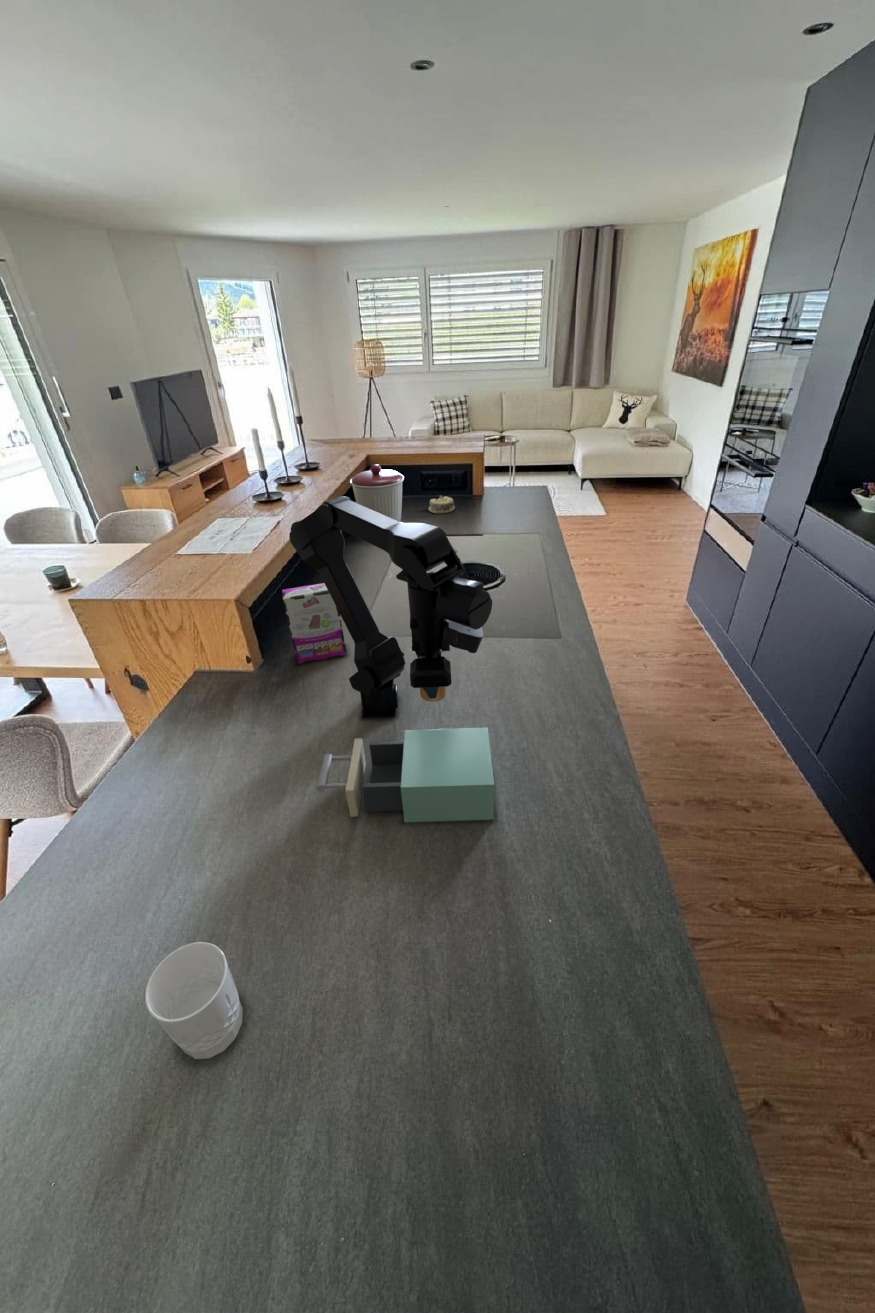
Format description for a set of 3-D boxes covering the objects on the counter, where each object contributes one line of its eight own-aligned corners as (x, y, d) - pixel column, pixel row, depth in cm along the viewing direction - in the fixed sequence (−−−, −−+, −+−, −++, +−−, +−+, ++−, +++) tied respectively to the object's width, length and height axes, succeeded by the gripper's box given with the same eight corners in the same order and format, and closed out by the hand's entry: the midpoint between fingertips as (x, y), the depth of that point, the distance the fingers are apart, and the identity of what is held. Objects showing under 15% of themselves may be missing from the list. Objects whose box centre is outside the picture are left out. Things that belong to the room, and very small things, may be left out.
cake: (460, 511, 205) (460, 496, 202) (437, 517, 201) (437, 502, 197) (445, 502, 211) (445, 488, 208) (423, 508, 207) (422, 494, 204)
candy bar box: (344, 644, 129) (334, 580, 120) (347, 655, 125) (337, 590, 116) (295, 653, 126) (281, 588, 117) (297, 665, 122) (282, 598, 113)
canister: (417, 522, 195) (413, 460, 184) (387, 539, 183) (381, 474, 171) (376, 514, 203) (370, 455, 192) (345, 530, 191) (336, 468, 179)
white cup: (256, 986, 65) (235, 939, 60) (238, 1064, 59) (213, 1019, 53) (189, 990, 65) (162, 944, 60) (163, 1068, 59) (131, 1024, 53)
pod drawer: (318, 817, 85) (312, 791, 82) (330, 764, 95) (325, 739, 91) (431, 814, 85) (429, 787, 81) (432, 761, 94) (430, 735, 91)
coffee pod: (419, 703, 94) (417, 684, 91) (419, 686, 98) (417, 667, 95) (447, 702, 93) (447, 683, 91) (447, 685, 98) (446, 666, 95)
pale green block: (404, 822, 85) (400, 787, 81) (408, 763, 95) (404, 730, 91) (493, 819, 84) (494, 784, 80) (487, 761, 95) (487, 727, 91)
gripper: (484, 637, 79) (484, 722, 87) (474, 580, 94) (475, 657, 103) (406, 641, 79) (413, 725, 87) (409, 583, 94) (415, 660, 103)
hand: (432, 689), depth 95 cm, fingers closed on coffee pod, 4 cm apart
